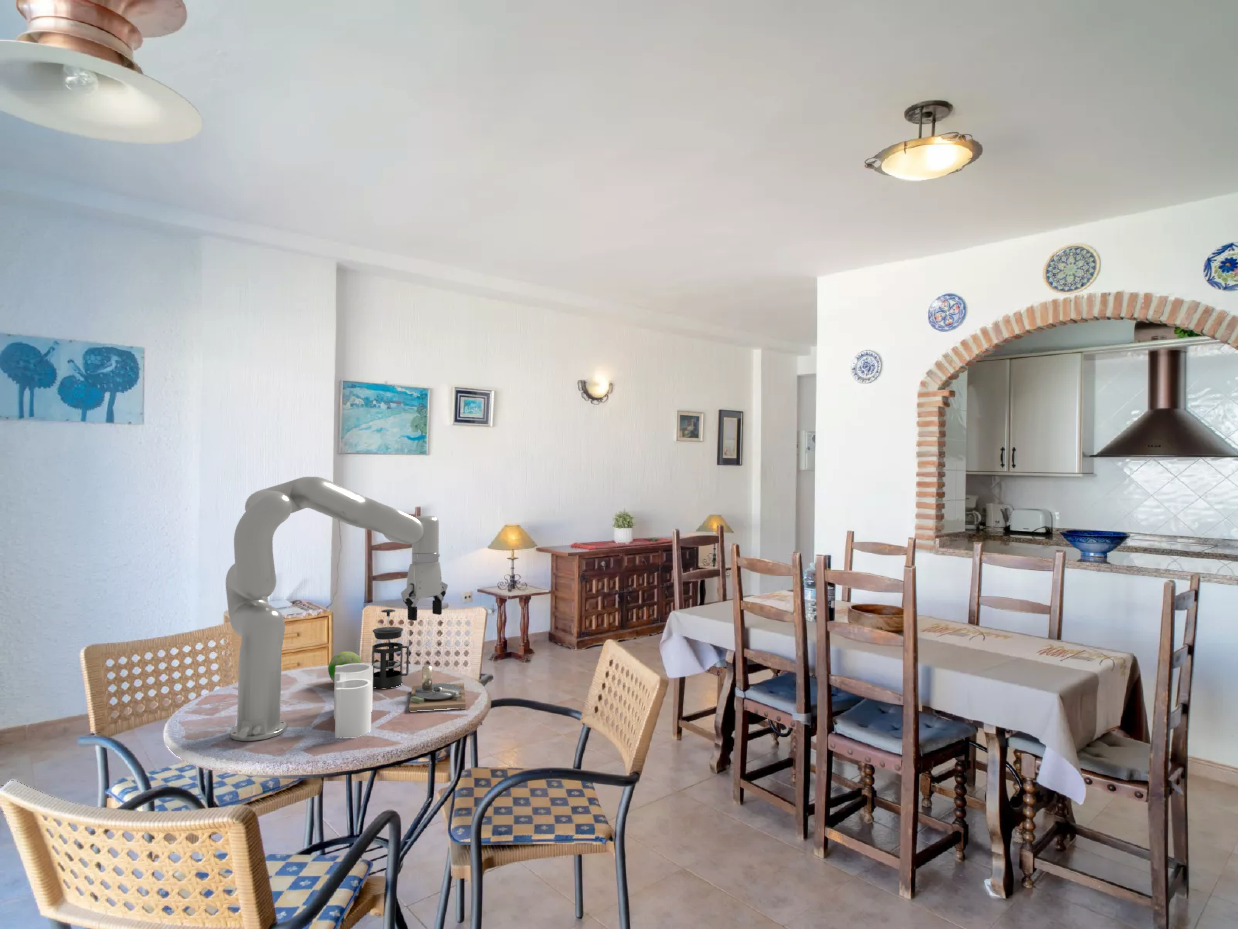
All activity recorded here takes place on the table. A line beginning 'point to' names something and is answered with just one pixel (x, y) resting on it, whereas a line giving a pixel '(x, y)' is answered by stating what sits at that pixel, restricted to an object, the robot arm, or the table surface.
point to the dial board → (437, 701)
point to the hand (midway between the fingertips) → (424, 617)
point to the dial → (435, 687)
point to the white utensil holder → (353, 699)
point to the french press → (388, 656)
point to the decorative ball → (342, 661)
